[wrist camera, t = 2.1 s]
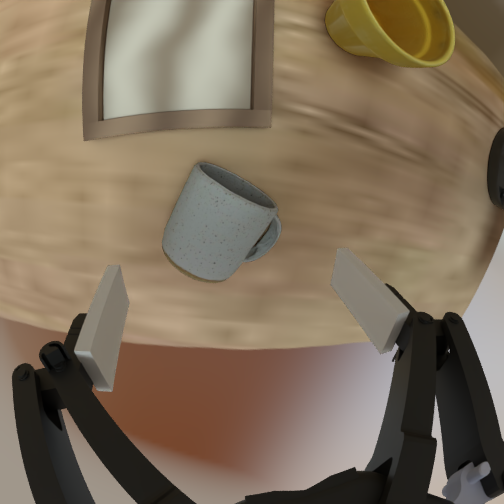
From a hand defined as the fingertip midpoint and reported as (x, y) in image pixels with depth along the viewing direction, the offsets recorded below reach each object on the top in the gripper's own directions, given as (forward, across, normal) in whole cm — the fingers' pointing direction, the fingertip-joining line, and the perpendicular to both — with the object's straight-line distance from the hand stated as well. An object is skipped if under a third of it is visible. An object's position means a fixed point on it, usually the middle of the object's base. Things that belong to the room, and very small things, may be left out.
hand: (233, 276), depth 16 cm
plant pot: (+12, -14, -20) cm, 27 cm away
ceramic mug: (+12, -1, 0) cm, 12 cm away
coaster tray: (+12, +4, -16) cm, 20 cm away
